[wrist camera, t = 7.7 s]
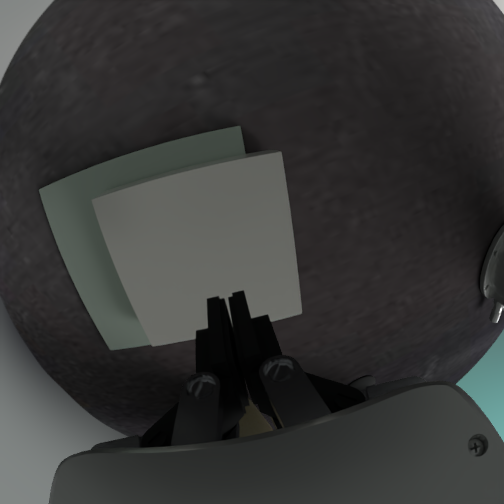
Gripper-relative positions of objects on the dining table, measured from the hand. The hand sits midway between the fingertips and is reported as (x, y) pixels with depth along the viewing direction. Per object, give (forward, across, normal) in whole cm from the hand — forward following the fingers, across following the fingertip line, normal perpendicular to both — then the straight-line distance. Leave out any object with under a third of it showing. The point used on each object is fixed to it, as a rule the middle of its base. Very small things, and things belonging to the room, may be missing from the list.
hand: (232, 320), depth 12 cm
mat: (+10, +5, 0) cm, 11 cm away
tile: (+8, -5, 0) cm, 9 cm away
